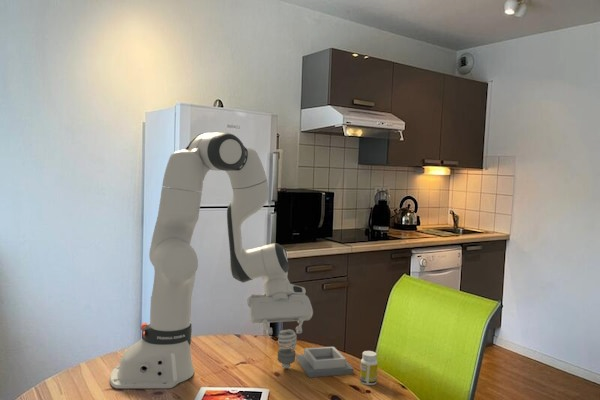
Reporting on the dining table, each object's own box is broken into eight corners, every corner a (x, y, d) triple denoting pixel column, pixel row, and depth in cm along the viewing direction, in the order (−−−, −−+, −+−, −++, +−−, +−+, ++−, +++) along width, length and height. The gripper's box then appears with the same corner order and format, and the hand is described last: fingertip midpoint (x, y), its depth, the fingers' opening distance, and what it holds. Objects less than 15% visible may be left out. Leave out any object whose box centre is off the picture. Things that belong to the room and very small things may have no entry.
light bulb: (296, 365, 139) (298, 327, 138) (294, 373, 134) (296, 333, 133) (278, 364, 140) (279, 325, 139) (275, 371, 134) (277, 331, 133)
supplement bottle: (377, 379, 132) (379, 351, 132) (375, 386, 128) (377, 357, 127) (360, 377, 133) (362, 349, 133) (358, 384, 129) (360, 355, 128)
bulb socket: (308, 377, 131) (309, 363, 131) (296, 359, 144) (296, 347, 144) (353, 373, 136) (353, 360, 135) (337, 356, 148) (337, 344, 148)
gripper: (248, 289, 143) (253, 330, 134) (309, 287, 149) (318, 326, 140) (245, 300, 147) (249, 340, 139) (304, 297, 153) (312, 336, 145)
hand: (284, 333), depth 139 cm, fingers open, 8 cm apart
